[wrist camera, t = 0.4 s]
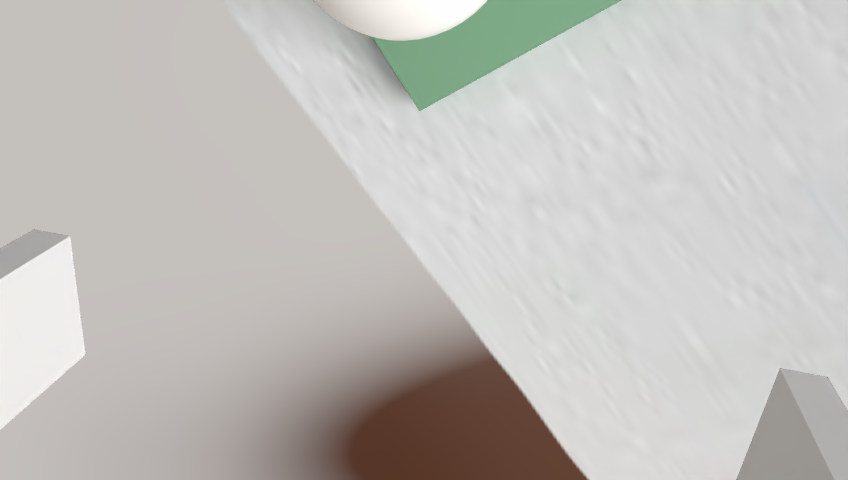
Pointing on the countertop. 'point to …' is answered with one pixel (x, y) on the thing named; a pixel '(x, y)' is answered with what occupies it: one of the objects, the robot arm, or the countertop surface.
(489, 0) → the green
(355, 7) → the ball
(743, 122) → the countertop surface
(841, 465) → the robot arm
